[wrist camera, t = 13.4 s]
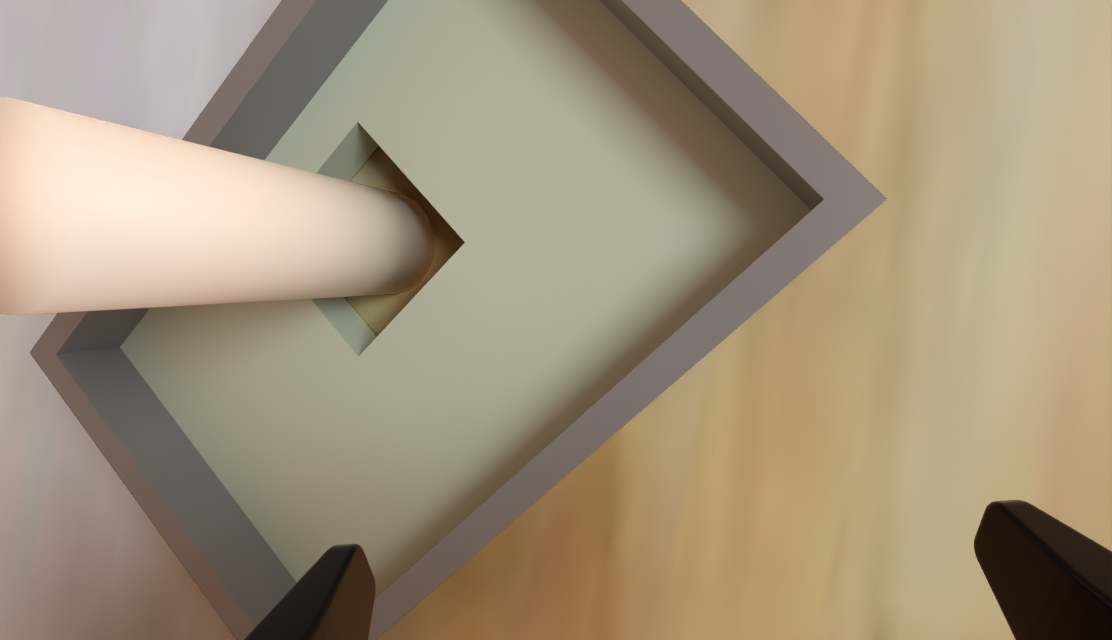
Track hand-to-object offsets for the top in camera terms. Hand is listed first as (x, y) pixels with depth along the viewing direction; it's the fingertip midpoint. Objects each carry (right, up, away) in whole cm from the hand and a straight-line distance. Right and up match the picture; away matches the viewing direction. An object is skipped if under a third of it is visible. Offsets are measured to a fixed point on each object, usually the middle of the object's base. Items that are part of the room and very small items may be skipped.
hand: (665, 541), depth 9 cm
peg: (-8, +6, +15) cm, 18 cm away
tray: (-7, +4, +15) cm, 16 cm away
